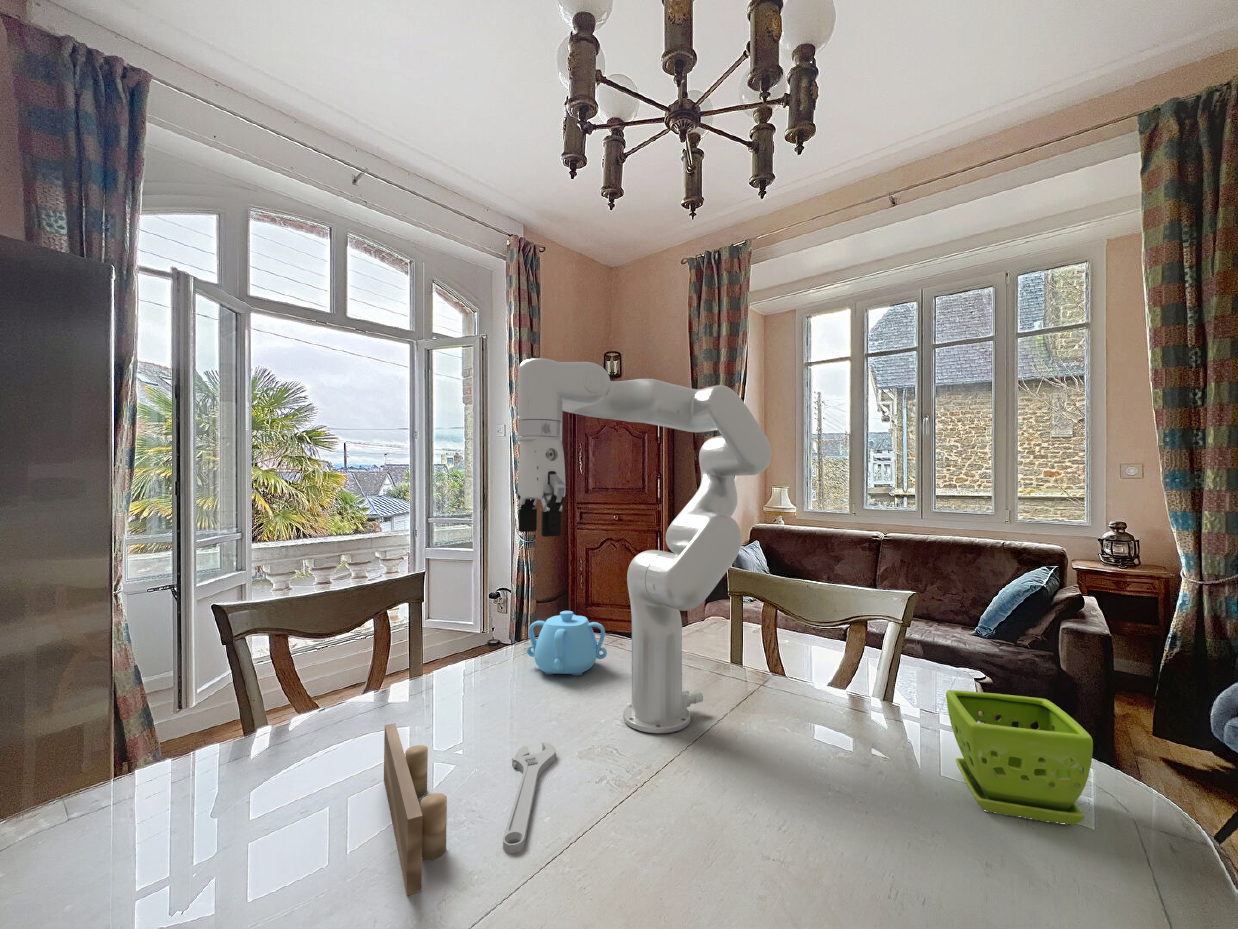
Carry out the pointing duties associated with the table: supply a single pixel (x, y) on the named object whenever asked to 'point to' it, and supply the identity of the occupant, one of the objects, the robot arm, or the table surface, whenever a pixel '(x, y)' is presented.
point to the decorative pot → (566, 644)
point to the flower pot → (1021, 755)
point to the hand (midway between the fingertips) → (538, 533)
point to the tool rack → (412, 808)
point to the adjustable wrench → (525, 793)
